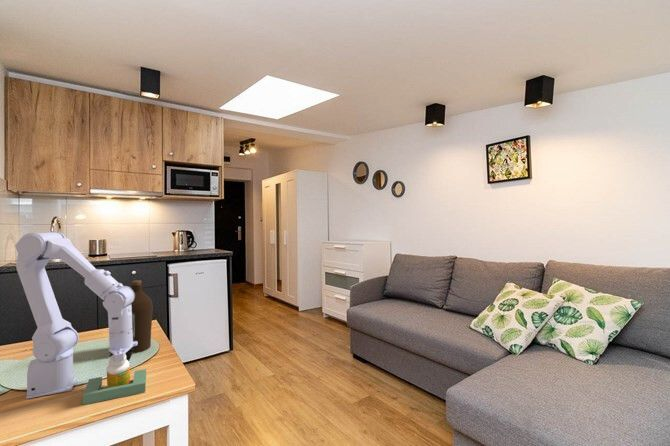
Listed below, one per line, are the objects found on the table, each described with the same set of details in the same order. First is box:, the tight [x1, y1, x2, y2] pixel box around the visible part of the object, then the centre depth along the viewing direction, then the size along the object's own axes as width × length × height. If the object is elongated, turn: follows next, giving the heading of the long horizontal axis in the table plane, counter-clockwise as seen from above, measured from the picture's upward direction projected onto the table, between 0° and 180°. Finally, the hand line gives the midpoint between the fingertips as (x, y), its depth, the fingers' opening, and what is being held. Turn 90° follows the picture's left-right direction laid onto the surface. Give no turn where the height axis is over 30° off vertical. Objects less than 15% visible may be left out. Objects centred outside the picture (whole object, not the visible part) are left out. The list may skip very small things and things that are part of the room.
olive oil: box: [128, 279, 154, 354], centre depth 120 cm, size 11×11×25 cm
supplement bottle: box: [106, 354, 131, 388], centre depth 91 cm, size 5×5×10 cm
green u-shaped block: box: [81, 368, 147, 406], centre depth 91 cm, size 14×10×2 cm
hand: (122, 376), depth 95 cm, fingers closed, pressing on supplement bottle
